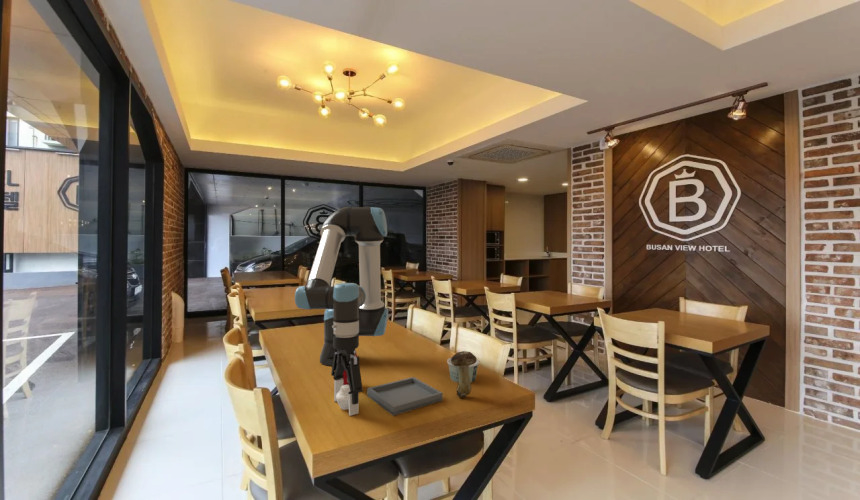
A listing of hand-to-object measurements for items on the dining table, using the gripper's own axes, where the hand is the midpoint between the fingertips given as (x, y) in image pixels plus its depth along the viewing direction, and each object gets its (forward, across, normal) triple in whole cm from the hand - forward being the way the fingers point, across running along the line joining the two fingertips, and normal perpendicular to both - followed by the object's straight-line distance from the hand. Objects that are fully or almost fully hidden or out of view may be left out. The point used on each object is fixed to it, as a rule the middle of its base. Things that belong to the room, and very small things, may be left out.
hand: (345, 406), depth 112 cm
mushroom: (0, +15, +34) cm, 37 cm away
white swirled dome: (0, 0, 0) cm, 0 cm away
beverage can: (0, -15, +7) cm, 17 cm away
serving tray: (0, +4, +18) cm, 19 cm away
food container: (0, +2, +45) cm, 45 cm away
